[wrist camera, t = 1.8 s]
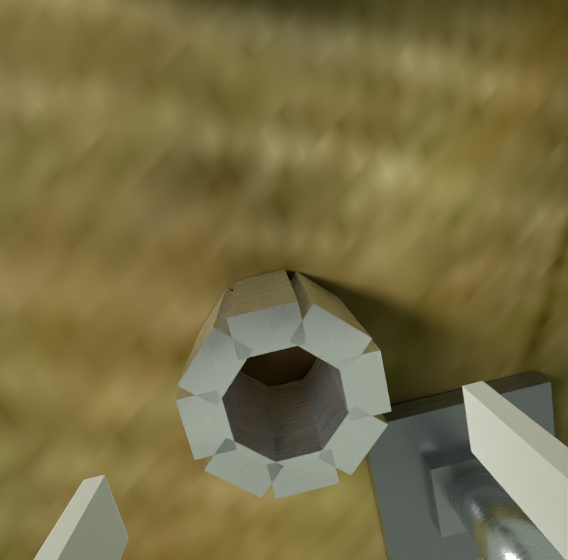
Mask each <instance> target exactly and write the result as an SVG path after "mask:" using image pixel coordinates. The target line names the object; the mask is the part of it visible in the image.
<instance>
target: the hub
mask: <svg viewBox="0 0 568 560" xmlns="http://www.w3.org/2000/svg"><path fill="white" fill-rule="evenodd" d="M294 346H299V347H301V348H303V349H304V350H306V351H308V352H310V353H311V354H313V355H315V356H317V359H316V360H315V362H314V363H313V365H312V366H311V368H310V369H309V371H308V372H307V374H306V375H305V377H304V378H303V379H300V380H296V381H292V382H287V383H283V384H279V385H275V386H271V387H270V386H268V385H266V384H264V383H262V382H260V381H258V380H257V379H255V378H253V377H251V376H249V375H247V374H246V373H244V372H242V371H240V369H241V367H242V366H243V364H244V363H245V361H246V360H247V358H249V357H253V356H257V355H261V354H265V353H269V352H273V351H278V350H282V349H286V348H290V347H294ZM177 386H179V387H180V390H179V392H178V395H177V397H176V404H177V407H178V410H179V413H180V416H181V419H182V422H183V425H184V428H185V431H186V434H187V438H188V441H189V444H190V447H191V450H192V453H193V456H194V459H195V460H196V459H200V458H204V457H207V458H206V463H205V468H204V470H205V471H207V472H209V473H211V474H213V475H215V476H217V477H219V478H221V479H223V480H226V481H228V482H230V483H232V484H234V485H236V486H238V487H240V488H242V489H244V490H246V491H248V492H251V493H253V494H255V495H257V496H259V497H261V498H262V497H263V495H264V494H265V492H266V491H267V489H268V488H269V486H270V485H271V484H272V486H273V490H274V493H275V497H276V499H278V498H282V497H286V496H290V495H294V494H298V493H302V492H306V491H310V490H314V489H318V488H322V487H326V486H330V485H334V484H338V483H339V480H338V476H337V472H336V468H338V469H340V470H342V471H344V472H346V473H347V474H349V475H352V473H353V472H354V471H355V469H356V468H357V467H358V465H359V464H360V463H361V461H362V460H363V458H364V457H365V456H366V454H367V453H368V452H369V450H370V449H371V447H372V446H373V445H374V443H375V442H376V441H377V439H378V438H379V437H380V435H381V434H382V432H383V431H384V430H385V428H386V427H387V426H388V423H387V422H386V420H385V418H384V417H383V415H382V413H386V412H390V411H391V406H390V400H389V394H388V389H387V383H386V378H385V372H384V367H383V361H382V356H381V350H380V349H379V348H378V347H377V345H376V344H375V343H374V342H373V340H372V338H371V336H370V335H369V334H368V333H367V331H366V330H365V329H364V328H363V327H362V325H361V324H360V323H359V322H358V321H357V319H356V318H355V317H354V316H353V315H352V313H351V312H350V311H349V310H348V309H347V307H346V306H345V305H344V304H343V303H342V301H341V300H340V299H339V298H338V297H337V296H336V295H334V294H332V293H331V292H329V291H327V290H326V289H324V288H323V287H321V286H319V285H318V284H316V283H314V282H313V281H311V280H309V279H308V278H306V277H305V276H303V275H301V274H300V273H298V272H295V274H294V276H293V277H292V279H291V280H290V281H289V278H288V276H287V273H286V271H285V270H281V271H277V272H273V273H269V274H264V275H260V276H256V277H252V278H248V279H243V280H239V281H235V285H234V289H233V292H232V291H231V290H229V289H227V288H226V289H225V291H224V292H223V294H222V296H221V297H220V299H219V301H218V302H217V304H216V305H215V307H214V309H213V310H212V312H211V314H210V315H209V317H208V318H207V320H206V322H205V323H204V325H203V327H202V328H201V330H200V332H199V335H198V337H197V340H196V342H195V344H194V347H193V349H192V352H191V354H190V356H189V359H188V361H187V364H186V366H185V368H184V371H183V373H182V375H181V378H180V380H179V383H178V385H177Z"/></svg>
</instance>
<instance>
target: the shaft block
mask: <svg viewBox="0 0 568 560" xmlns="http://www.w3.org/2000/svg"><path fill="white" fill-rule="evenodd" d="M486 384H487V385H488V386H490V387H491V388H492V389H494V390H495V391H496V392H497V393H499V394H500V395H501V396H502V397H504V398H505V399H506V400H508V401H509V402H510V403H511V404H513V405H514V406H515V407H517V408H518V409H519V410H520V411H522V412H523V413H524V414H526V415H527V416H528V417H529V418H531V419H532V420H533V421H535V422H536V423H537V424H538V425H540V426H541V427H542V428H544V429H545V430H546V431H547V432H549V433H550V434H551V435H552V436H554V437H555V431H554V417H553V403H552V390H551V381H549V380H547V379H546V378H544V377H542V376H541V375H539V374H538V373H536V372H534V371H532V372H528V373H524V374H520V375H516V376H512V377H507V378H503V379H499V380H495V381H491V382H487V383H486ZM382 415H383V417H384V418H385V420H386V422H387V423H388V426H387V427H386V428H385V430H384V431H383V432H382V434H381V435H380V437H379V438H378V439H377V441H376V442H375V443H374V445H373V446H372V447H371V449H370V450H369V452H368V453H367V454H366V458H367V463H368V468H369V473H370V478H371V482H372V487H373V492H374V497H375V502H376V507H377V512H378V517H379V522H380V527H381V531H382V536H383V541H384V546H385V551H386V556H387V560H472V559H476V558H480V557H484V558H485V560H565V559H564V557H563V556H562V555H561V554H560V553H559V552H558V551H557V549H556V548H555V547H554V546H553V545H552V544H551V542H550V541H549V540H548V539H547V538H546V537H545V536H544V534H543V533H542V532H541V531H540V530H539V529H538V528H537V526H536V525H535V524H534V523H533V522H532V521H531V520H530V518H529V517H528V516H527V515H526V514H525V513H524V511H523V510H522V509H521V508H520V507H519V506H518V505H517V503H516V502H515V501H514V500H513V499H512V498H511V497H510V495H509V494H508V493H507V492H506V491H505V490H504V488H503V487H502V486H501V485H500V484H499V483H498V482H497V480H496V479H495V478H494V477H493V476H492V475H491V474H490V472H489V471H488V470H487V469H486V468H485V467H484V465H483V464H482V463H481V462H480V461H479V460H478V459H477V457H476V456H475V455H474V454H473V453H472V452H471V446H470V439H469V431H468V424H467V417H466V410H465V403H464V396H463V389H459V390H455V391H451V392H447V393H443V394H439V395H435V396H431V397H426V398H422V399H418V400H414V401H410V402H406V403H402V404H398V405H394V406H391V411H390V412H386V413H382Z"/></svg>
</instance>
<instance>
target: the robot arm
mask: <svg viewBox="0 0 568 560" xmlns="http://www.w3.org/2000/svg"><path fill="white" fill-rule="evenodd" d="M462 389H463V396H464V403H465V410H466V417H467V424H468V431H469V439H470V446H471V452H472V453H473V454H474V455H475V456H476V457H477V459H478V460H479V461H480V462H481V463H482V464H483V465H484V467H485V468H486V469H487V470H488V471H489V472H490V474H491V475H492V476H493V477H494V478H495V479H496V480H497V482H498V483H499V484H500V485H501V486H502V487H503V488H504V490H505V491H506V492H507V493H508V494H509V495H510V497H511V498H512V499H513V500H514V501H515V502H516V503H517V505H518V506H519V507H520V508H521V509H522V510H523V511H524V513H525V514H526V515H527V516H528V517H529V518H530V520H531V521H532V522H533V523H534V524H535V525H536V526H537V528H538V529H539V530H540V531H541V532H542V533H543V534H544V536H545V537H546V538H547V539H548V540H549V541H550V542H551V544H552V545H553V546H554V547H555V548H556V549H557V551H558V552H559V553H560V554H561V555H562V556H563V557H564V559H565V560H568V447H567V446H565V445H564V444H563V443H561V442H560V441H559V440H558V439H556V438H555V437H554V436H552V435H551V434H550V433H549V432H547V431H546V430H545V429H544V428H542V427H541V426H540V425H538V424H537V423H536V422H535V421H533V420H532V419H531V418H529V417H528V416H527V415H526V414H524V413H523V412H522V411H520V410H519V409H518V408H517V407H515V406H514V405H513V404H511V403H510V402H509V401H508V400H506V399H505V398H504V397H502V396H501V395H500V394H499V393H497V392H496V391H495V390H494V389H492V388H491V387H490V386H488V385H487V384H486V383H485V382H483V381H480V382H476V383H472V384H468V385H464V386H462ZM128 539H129V537H128V535H127V532H126V529H125V527H124V524H123V521H122V519H121V516H120V513H119V511H118V508H117V505H116V503H115V500H114V497H113V495H112V492H111V489H110V487H109V484H108V481H107V479H106V476H105V475H101V476H97V477H93V478H89V479H85V480H83V482H82V483H81V485H80V486H79V488H78V490H77V491H76V493H75V494H74V496H73V498H72V499H71V501H70V502H69V504H68V506H67V507H66V509H65V510H64V512H63V514H62V515H61V517H60V518H59V520H58V522H57V523H56V525H55V526H54V528H53V530H52V531H51V533H50V534H49V536H48V537H47V539H46V541H45V542H44V544H43V545H42V547H41V549H40V550H39V552H38V553H37V555H36V557H35V558H34V560H121V557H122V555H123V552H124V550H125V547H126V544H127V542H128Z"/></svg>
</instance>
